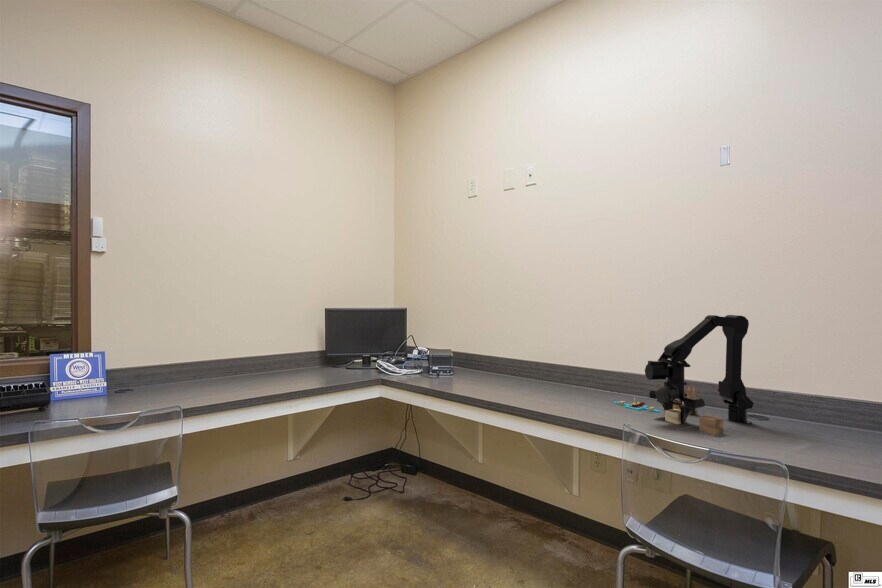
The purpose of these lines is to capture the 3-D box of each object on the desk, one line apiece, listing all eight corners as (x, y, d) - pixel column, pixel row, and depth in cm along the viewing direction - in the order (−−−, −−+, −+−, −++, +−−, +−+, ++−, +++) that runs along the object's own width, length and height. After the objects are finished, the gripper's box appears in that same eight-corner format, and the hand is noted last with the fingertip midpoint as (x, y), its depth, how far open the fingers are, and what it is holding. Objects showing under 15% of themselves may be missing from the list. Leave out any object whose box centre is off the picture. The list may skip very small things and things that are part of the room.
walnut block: (708, 429, 156) (708, 414, 156) (723, 433, 152) (723, 418, 152) (699, 431, 154) (699, 416, 154) (713, 435, 150) (713, 420, 150)
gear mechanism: (622, 402, 202) (609, 405, 196) (621, 390, 202) (609, 393, 196) (666, 411, 186) (654, 415, 180) (666, 398, 186) (654, 401, 180)
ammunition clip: (697, 417, 174) (697, 386, 174) (695, 418, 173) (695, 387, 173) (669, 412, 183) (668, 382, 183) (667, 413, 181) (666, 383, 181)
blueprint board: (704, 426, 164) (703, 423, 164) (750, 438, 149) (750, 435, 149) (674, 432, 157) (674, 429, 157) (719, 446, 142) (719, 443, 142)
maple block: (674, 421, 169) (674, 408, 169) (686, 425, 165) (686, 411, 165) (665, 423, 167) (665, 410, 167) (677, 427, 163) (677, 413, 163)
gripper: (638, 376, 171) (639, 418, 171) (684, 385, 154) (684, 431, 154) (659, 374, 176) (659, 414, 176) (705, 382, 159) (705, 427, 159)
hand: (675, 421), depth 166 cm, fingers closed on maple block, 5 cm apart
